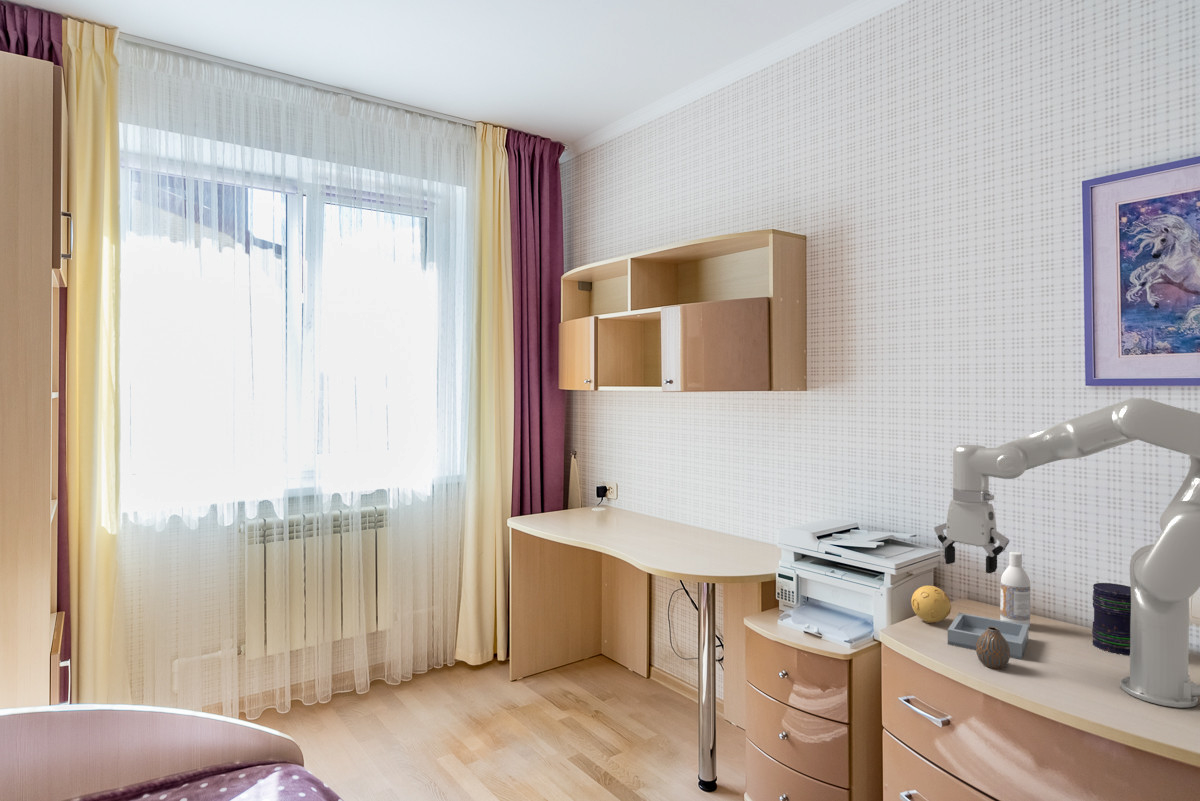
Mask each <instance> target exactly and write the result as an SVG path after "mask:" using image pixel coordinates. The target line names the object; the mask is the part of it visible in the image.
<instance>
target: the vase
mask: <svg viewBox="0 0 1200 801" xmlns="http://www.w3.org/2000/svg"><path fill="white" fill-rule="evenodd" d="M975 652H976V655H977V658H978V660H979V661H980V663H982V665H983V666H984V667H987V668H990V669H993V670H1001V669H1003V668H1005V667H1006V666H1007V665H1008V663H1010V662H1009V661H1010V658H1011V657H1010V648H1009V645H1008V643H1007V641H1006V639H1005V638H1004V637H1003V636H1002V634H1001V633H1000V631H999V629H998V628H995V627H987V629H986V631H985V632H984V633H983V634H982V635H981V636H980V637H979V638H978V640H977V644H976V650H975Z"/></svg>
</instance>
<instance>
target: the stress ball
mask: <svg viewBox="0 0 1200 801" xmlns="http://www.w3.org/2000/svg"><path fill="white" fill-rule="evenodd" d="M911 596H912V597H911V607H912V610H913V612H914V613H915V615H916V616H917V617H919V618H920V619H921V620H923V621H924V622H925V623H927V624H932V623H934V624H937V623H940V622H942V621H944V620H945V619H946V618H947V617H948V616H950V613H951V610H952V604H951V599H950V598H949V597H950V596H948V595H947V594H946V592H945V591H944V590H942V589H941V588H939V587H937V586H934V585H922V586H920V587H919V588H917V589H916V590H915V591H914V592H913V593H912V595H911Z"/></svg>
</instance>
